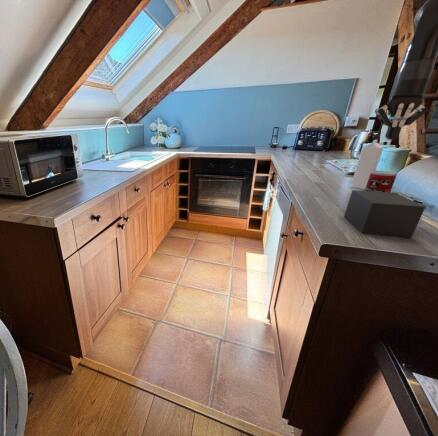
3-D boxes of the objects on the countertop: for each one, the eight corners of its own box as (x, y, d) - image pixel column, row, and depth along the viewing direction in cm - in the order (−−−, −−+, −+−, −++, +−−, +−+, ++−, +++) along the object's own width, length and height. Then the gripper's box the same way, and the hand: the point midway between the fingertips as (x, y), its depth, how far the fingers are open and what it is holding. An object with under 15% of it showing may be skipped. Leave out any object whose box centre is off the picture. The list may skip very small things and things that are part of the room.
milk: (350, 187, 118) (364, 139, 110) (354, 185, 122) (369, 139, 113) (365, 189, 114) (382, 140, 105) (370, 187, 117) (386, 139, 109)
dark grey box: (343, 216, 84) (352, 190, 80) (385, 220, 80) (396, 192, 77) (361, 233, 72) (372, 202, 68) (411, 238, 68) (425, 206, 65)
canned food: (358, 197, 104) (366, 171, 100) (370, 194, 106) (378, 169, 102) (379, 202, 97) (389, 175, 93) (391, 199, 100) (401, 173, 95)
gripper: (391, 78, 71) (371, 140, 78) (450, 75, 68) (424, 140, 74) (378, 81, 78) (361, 138, 85) (431, 79, 74) (409, 138, 81)
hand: (390, 139), depth 79 cm, fingers closed
